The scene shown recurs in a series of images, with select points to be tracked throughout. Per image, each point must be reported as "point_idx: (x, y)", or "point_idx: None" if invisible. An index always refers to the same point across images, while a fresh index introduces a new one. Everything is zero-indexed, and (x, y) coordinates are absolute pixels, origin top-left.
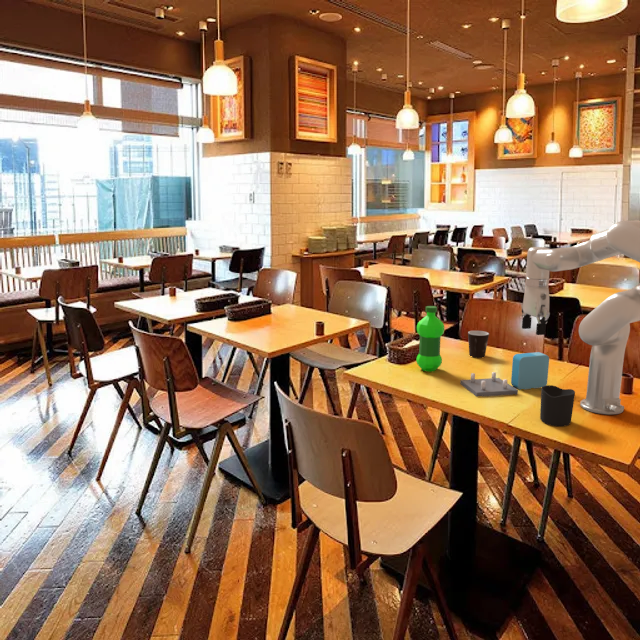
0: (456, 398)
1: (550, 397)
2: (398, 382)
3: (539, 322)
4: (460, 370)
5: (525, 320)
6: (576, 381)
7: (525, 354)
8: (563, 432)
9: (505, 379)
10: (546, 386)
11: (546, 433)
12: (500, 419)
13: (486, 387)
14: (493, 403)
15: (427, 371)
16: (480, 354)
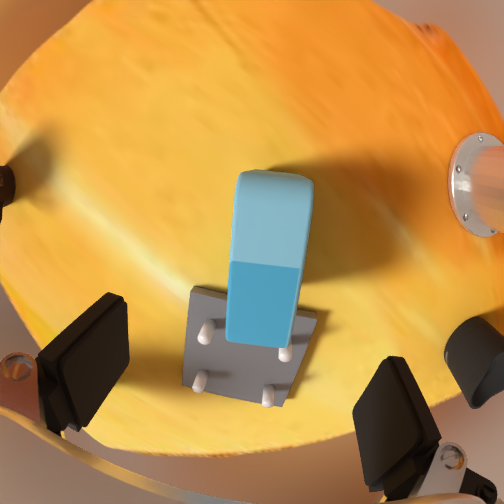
0: (271, 427)
1: (487, 397)
2: (154, 438)
3: (402, 495)
4: (85, 307)
5: (90, 401)
6: (284, 37)
7: (254, 306)
8: None
9: (281, 353)
10: (473, 391)
11: None
12: None
13: (258, 373)
14: (335, 392)
15: None
16: (8, 189)
